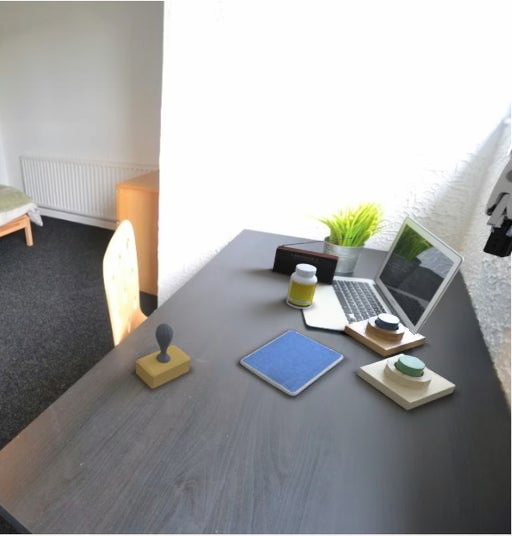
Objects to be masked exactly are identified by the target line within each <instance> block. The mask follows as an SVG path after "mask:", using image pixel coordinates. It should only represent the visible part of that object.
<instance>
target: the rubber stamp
mask: <svg viewBox="0 0 512 536" xmlns="http://www.w3.org/2000/svg"><path fill="white" fill-rule="evenodd" d="M173 337H174V330H173V327H172V326H171V325H170V324H168V323H165V322H163V323H160V324H158V325H157V326H156V329H155V338H156V342H157V344H158V346H159V350H157V351H155V352H152V353H150V354H148V355H145V356H143V357H141V358H138V359H137V360H136V361H135V374H136V375H137V376H138V377H139V378H140V379H141V380H142V381H143V382H144V383H145V384H146V385H147V386H148V387H149V388H150V389H155V388H157V387H159V386H161V385H164V384H165V383H168V382H170V381H172V380H174V379H176V378H177V377H180V376H182V375H183V374H186V373H188V372H190V365H191V357H190V356H189V355H187V354H186V353H185V352H184V351H183V350H181V349H180V348H179V347H178V346H176V345H175V344H171V343H172V340H173ZM170 344H171V345H170Z"/></svg>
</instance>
